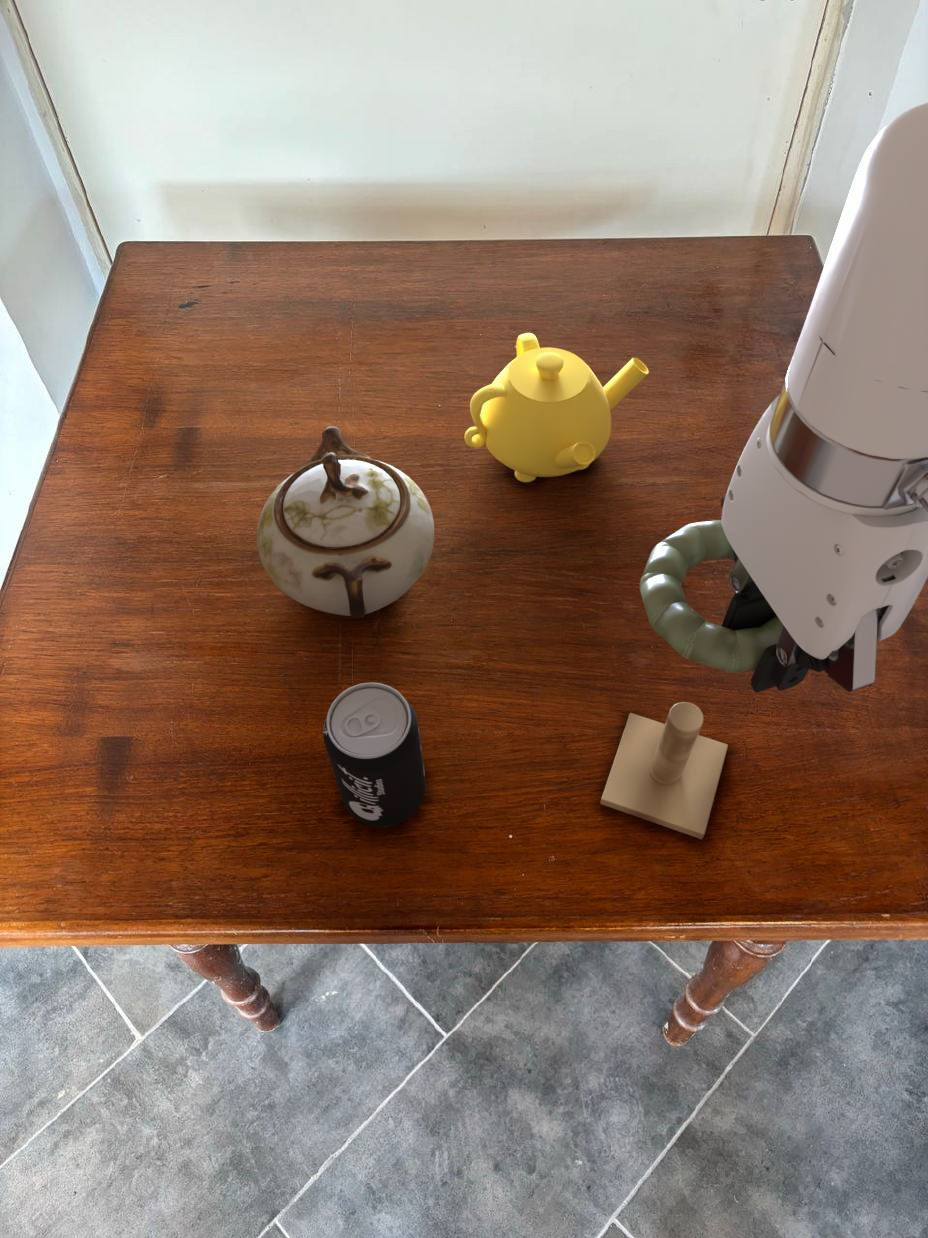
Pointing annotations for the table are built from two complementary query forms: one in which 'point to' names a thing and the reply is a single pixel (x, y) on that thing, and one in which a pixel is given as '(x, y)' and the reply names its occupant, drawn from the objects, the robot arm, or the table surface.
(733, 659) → the ring
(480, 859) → the table surface
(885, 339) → the robot arm
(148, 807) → the table surface
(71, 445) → the table surface
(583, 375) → the teapot
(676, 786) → the square base peg stand
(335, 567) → the sugar bowl
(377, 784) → the beverage can
